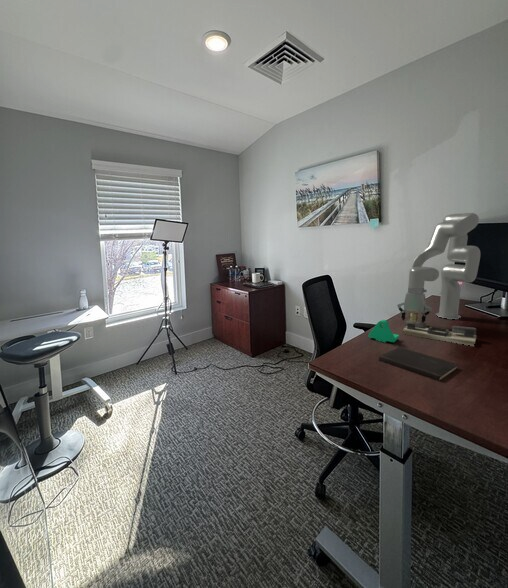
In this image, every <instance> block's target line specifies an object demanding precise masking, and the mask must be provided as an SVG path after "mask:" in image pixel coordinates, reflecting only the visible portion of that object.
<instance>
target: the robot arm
mask: <svg viewBox="0 0 508 588" xmlns="http://www.w3.org/2000/svg"><path fill="white" fill-rule="evenodd" d="M479 219H480V217H479V216H478V214H477V213H475V212H468V213H467V212H465V213H462V212H461V213H451V214H448V215H445V216H444V217H443V219H442V222H439V223H437V224H436V225H435V227H434V229H433V232H432V235H431V237H430V240H429V242H428V244H427V247H426V248H425V249H424V250H422V251H421V252H420V253H419V254H418V255H417V256H416V257H415V258H414V260H413V262H412V265H411V268H410V269H409V275H408V283H407V284H408V285H407V286H408V288H407V292H406V294H405V297H404V301H403V302H401V303H399V304H397V305H396V306H397V308H398V311H399V312H400V313H401V319H402V321H406V320H405V319H406V311H407V312H418V313H421V314H422V316H421V322H422V323H426V317H427V316H428V315H429V314H430V313H431V312H432V310H433V308H432V307H430V306H429V305H427V304H426V299H427V298H426V294H425V293H427V289H425V288H424V287H425V282H434V281H437V280H438V278H439V276H440V277H441V287H440V289H441V290H440V302H439V310H438V312H436V313H435V316H436V315H437V316H438V317H437V316H436V317H437V318H439V317H442V318H441V319H443V318H447V319H446V320H452V319H455V320H460V319H461V317H462V316H461V315H460V314H459V307H460V298H461V284H460V282H462V283H473V282H474V281H475V280H476V278H477V275H478V271H479V266H480V260H481V250H480V248H479V247H478V246H476V245H468V238H469V236H468V233H469V232H471V231H472V230H474V229H476V227H477V226H478V225H479V222H480V221H479ZM447 245H448V249H447V253H446V254H447V255H446V259H447V260H448V261H450V262H453V263H448V264H445V265H443V266H442V268H441V270H440V271H439V270H438V269H437V268H435V267H429V266H423V265H424V264H425V263H426V262H427V260H430V259H432V258H433V257H436V256H439V255H441V254H443V253H444V252H445V250H446V248H447ZM455 263H465V264H455ZM402 306H403V307H402ZM425 310H427V311H425ZM459 318H460V319H459Z"/></svg>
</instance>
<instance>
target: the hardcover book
mask: <svg viewBox="0 0 508 588" xmlns="http://www.w3.org/2000/svg"><path fill="white" fill-rule="evenodd" d="M378 361H380V362H383V363H385V364H387V365H391V366H394V367H396V368H399V369H403V370H406V371H409V372H411V373H414V374H416V375H417V374H418V375H420V376H422V377H426V378H428V379H432V380H434V381H438V382H440V380H442V379H444V378H445V377H446V376H448V375H449V374H451V373H453V371H456V370H457V368H458V366H459V364H458V363H456V362H455V363H454V362H451V361H448V360H444V359H441V358H439V357H435V356H431V355H428V354H424V353H421V352H418V351H414V350H410V349H408V348H403V347H400V346H399V347H397V348H395V349H394V348H393V349H392V350H390V351H388V352H386V353H383V354H381V355H379V357H378Z"/></svg>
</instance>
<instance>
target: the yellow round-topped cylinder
mask: <svg viewBox="0 0 508 588" xmlns="http://www.w3.org/2000/svg"><path fill="white" fill-rule="evenodd" d="M408 316H409V317H408V320H409V321H416V322H419V312H413V311H409V314H408Z"/></svg>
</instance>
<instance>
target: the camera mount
mask: <svg viewBox="0 0 508 588" xmlns="http://www.w3.org/2000/svg"><path fill="white" fill-rule="evenodd" d="M399 337H400V335H399V334H396V333H393V331H392V330H391V328H390V324H389V321H387V320H386V319H381V320H379V321H377V323H376V324H375V326H373V328H372V329H371V330H370V332H369V333H368V338H371V339H375V341H376V340H378V342H381V341H382V343H385V342H386V343H388V342H390V343H395V342H397V340H398V339H399Z"/></svg>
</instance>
